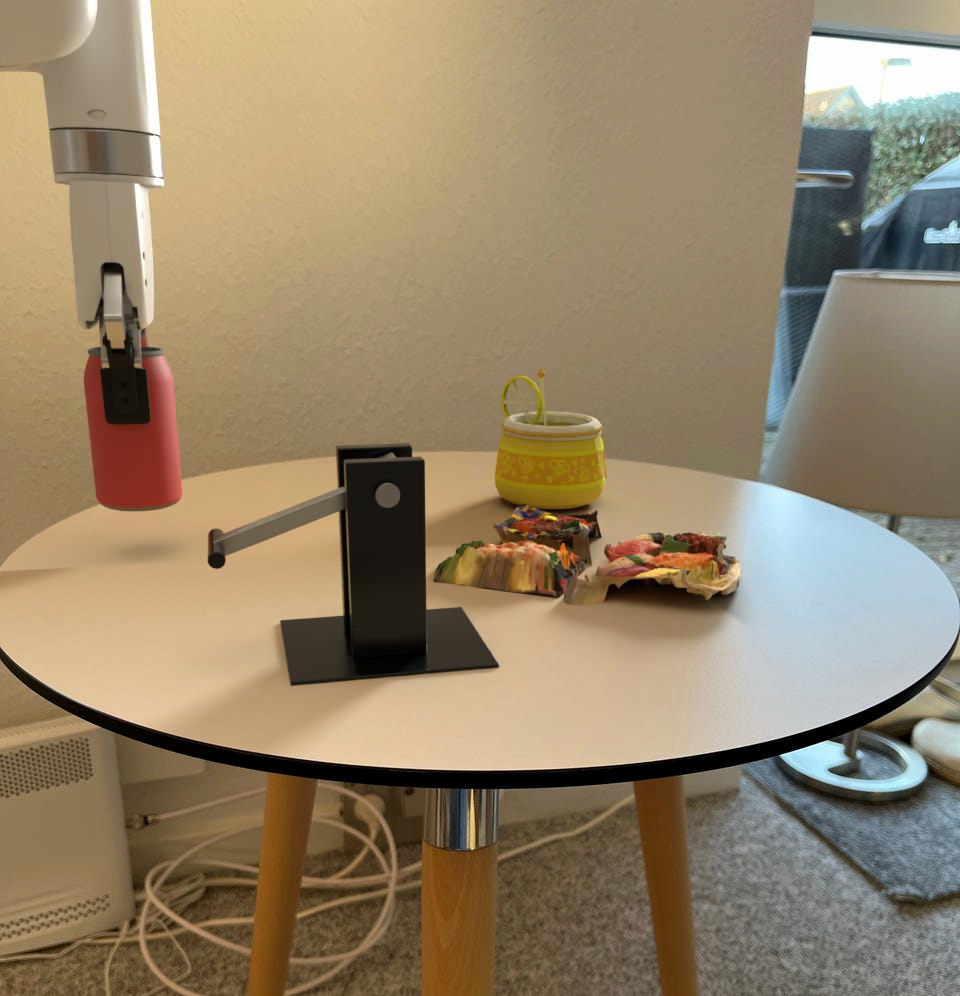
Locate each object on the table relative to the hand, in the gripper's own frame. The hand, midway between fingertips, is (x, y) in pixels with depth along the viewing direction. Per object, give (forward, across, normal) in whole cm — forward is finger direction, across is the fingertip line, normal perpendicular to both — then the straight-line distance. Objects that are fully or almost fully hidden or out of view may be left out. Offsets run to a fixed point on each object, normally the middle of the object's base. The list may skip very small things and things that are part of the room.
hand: (132, 414), depth 79 cm
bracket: (+11, +26, +16) cm, 33 cm away
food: (+11, +14, +34) cm, 38 cm away
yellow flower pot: (+10, -10, +38) cm, 40 cm away
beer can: (+7, 0, 0) cm, 7 cm away
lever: (+3, +27, +12) cm, 29 cm away
